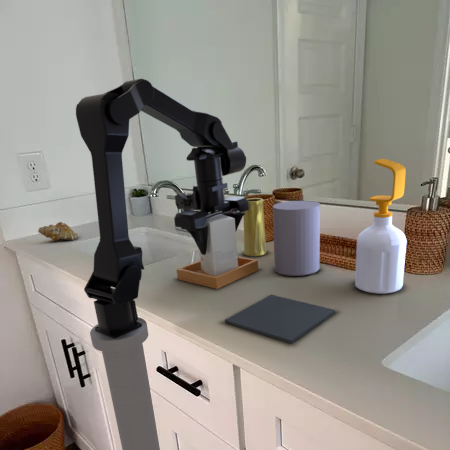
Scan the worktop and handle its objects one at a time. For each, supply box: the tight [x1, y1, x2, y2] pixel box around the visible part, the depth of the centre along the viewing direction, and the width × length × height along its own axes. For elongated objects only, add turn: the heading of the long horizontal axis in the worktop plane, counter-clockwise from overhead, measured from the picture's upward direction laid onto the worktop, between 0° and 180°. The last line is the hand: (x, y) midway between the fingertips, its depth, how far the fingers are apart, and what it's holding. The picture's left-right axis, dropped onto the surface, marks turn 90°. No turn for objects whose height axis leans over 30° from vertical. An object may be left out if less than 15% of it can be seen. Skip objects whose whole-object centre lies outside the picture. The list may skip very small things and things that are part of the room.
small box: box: [199, 214, 238, 277], centre depth 98 cm, size 8×6×13 cm
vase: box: [242, 197, 268, 257], centre depth 112 cm, size 6×6×14 cm
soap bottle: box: [354, 158, 408, 295], centre depth 82 cm, size 9×9×25 cm
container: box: [272, 200, 321, 277], centre depth 97 cm, size 10×10×15 cm
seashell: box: [37, 221, 79, 242], centre depth 146 cm, size 9×8×10 cm
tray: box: [176, 255, 259, 290], centre depth 101 cm, size 15×13×2 cm
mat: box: [224, 294, 336, 344], centre depth 76 cm, size 14×14×1 cm
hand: (217, 248), depth 99 cm, fingers open, 8 cm apart
